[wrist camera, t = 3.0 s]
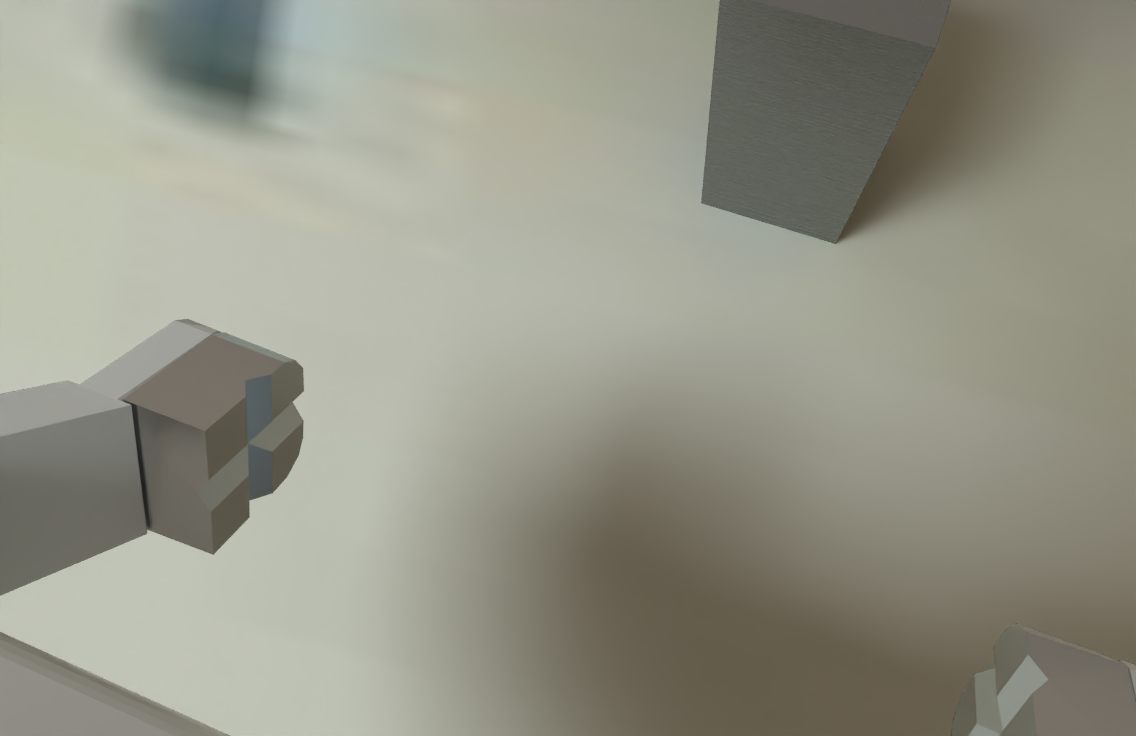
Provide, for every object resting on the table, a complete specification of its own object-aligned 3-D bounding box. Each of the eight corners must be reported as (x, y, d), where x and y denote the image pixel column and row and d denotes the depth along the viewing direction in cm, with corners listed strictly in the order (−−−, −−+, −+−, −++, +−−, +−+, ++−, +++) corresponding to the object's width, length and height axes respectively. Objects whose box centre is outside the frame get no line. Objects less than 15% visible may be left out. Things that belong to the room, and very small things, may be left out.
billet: (701, 202, 27) (720, -16, 17) (744, 83, 27) (788, -193, 18) (835, 243, 26) (938, 41, 16) (877, 120, 27) (1000, -146, 17)
